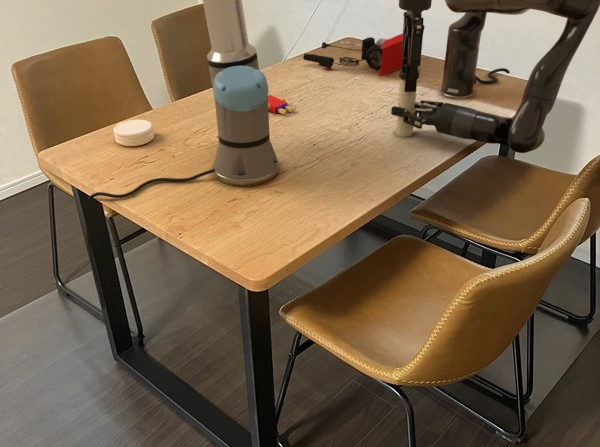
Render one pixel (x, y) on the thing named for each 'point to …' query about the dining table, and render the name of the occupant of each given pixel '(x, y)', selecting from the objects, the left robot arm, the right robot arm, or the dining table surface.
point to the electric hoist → (368, 54)
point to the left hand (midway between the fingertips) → (408, 87)
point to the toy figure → (278, 105)
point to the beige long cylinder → (408, 103)
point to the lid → (403, 73)
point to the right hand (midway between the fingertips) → (396, 107)
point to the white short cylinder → (134, 132)
